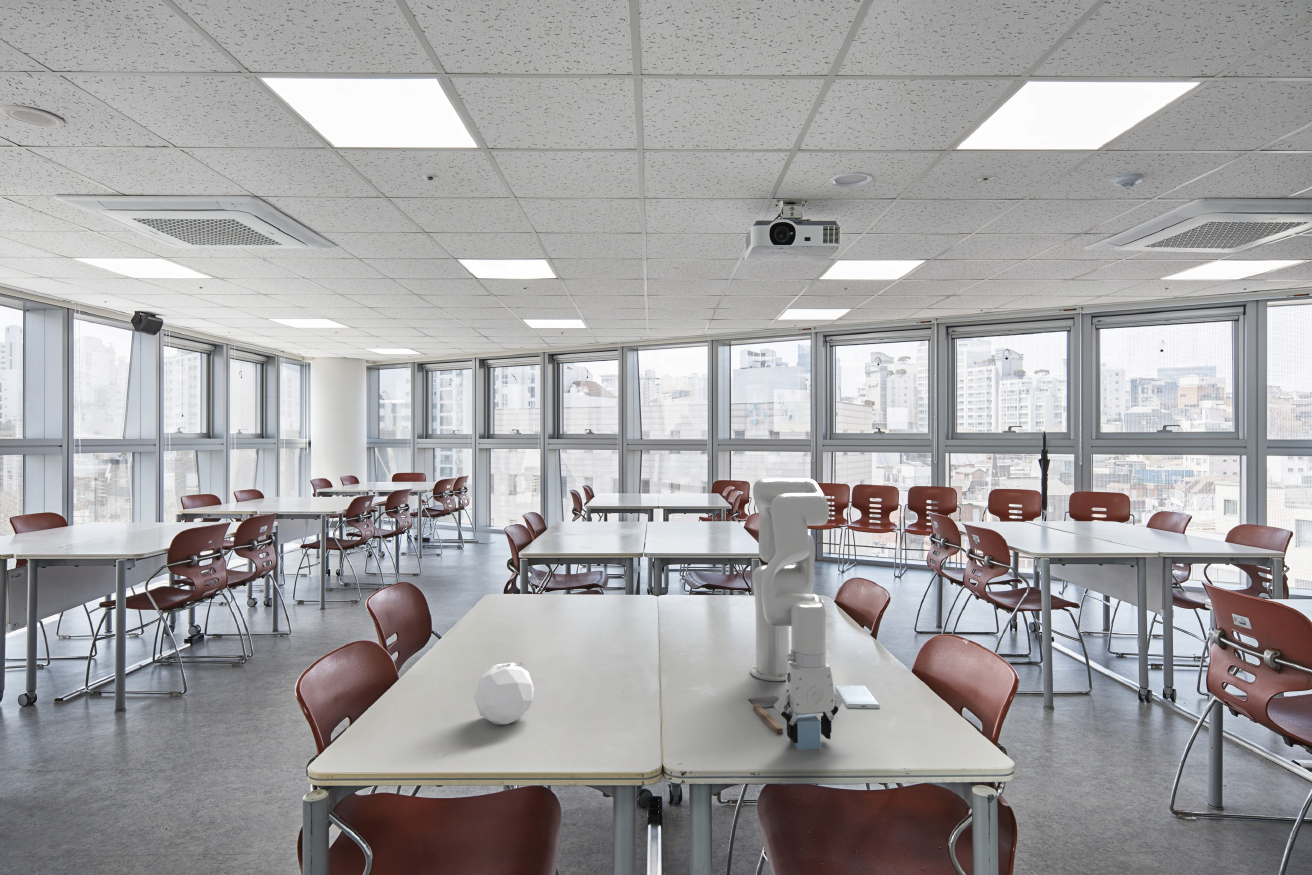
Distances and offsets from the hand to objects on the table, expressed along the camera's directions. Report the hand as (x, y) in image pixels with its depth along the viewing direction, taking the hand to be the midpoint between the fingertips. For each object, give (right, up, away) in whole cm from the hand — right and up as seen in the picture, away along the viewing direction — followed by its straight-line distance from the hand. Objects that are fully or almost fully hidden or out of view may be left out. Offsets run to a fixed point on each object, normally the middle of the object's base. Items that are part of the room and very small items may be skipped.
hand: (809, 737), depth 136 cm
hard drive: (+19, -3, +25) cm, 32 cm away
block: (-1, -1, 0) cm, 2 cm away
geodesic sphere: (-71, -2, +12) cm, 72 cm away
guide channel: (-4, -2, +16) cm, 16 cm away
